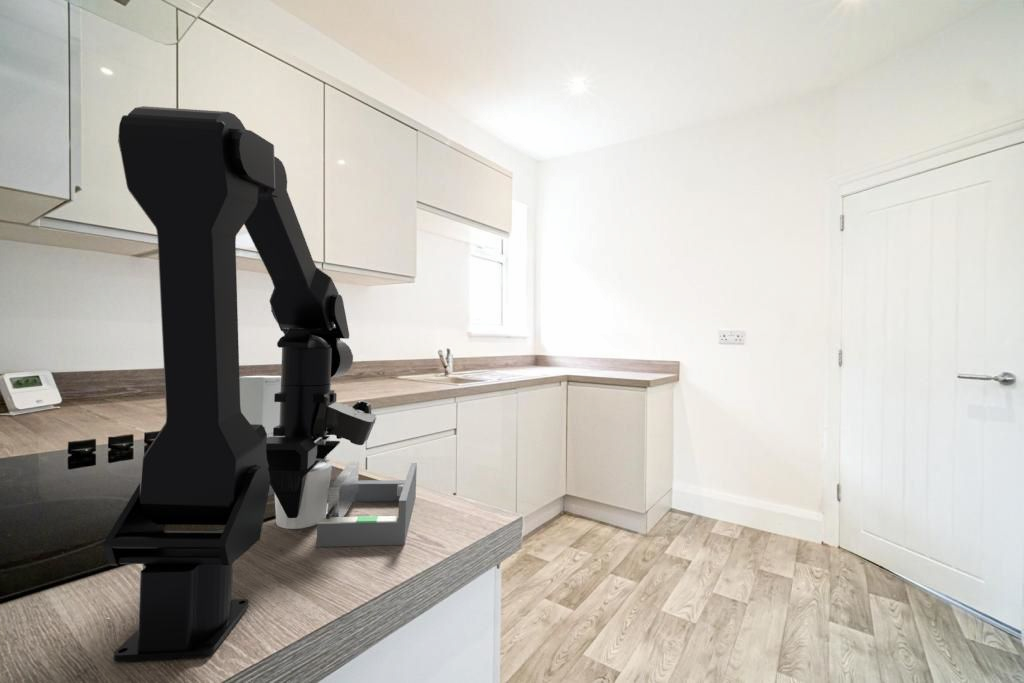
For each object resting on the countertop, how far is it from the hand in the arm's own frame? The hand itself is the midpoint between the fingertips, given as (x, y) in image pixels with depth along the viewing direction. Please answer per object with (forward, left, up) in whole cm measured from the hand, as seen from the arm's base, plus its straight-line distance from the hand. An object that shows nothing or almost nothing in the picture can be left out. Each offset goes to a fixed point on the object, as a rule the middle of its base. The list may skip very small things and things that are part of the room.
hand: (301, 507), depth 57 cm
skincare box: (+37, +19, -2) cm, 42 cm away
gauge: (0, -9, -2) cm, 9 cm away
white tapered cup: (0, 0, -2) cm, 2 cm away
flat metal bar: (-1, -5, 0) cm, 5 cm away
